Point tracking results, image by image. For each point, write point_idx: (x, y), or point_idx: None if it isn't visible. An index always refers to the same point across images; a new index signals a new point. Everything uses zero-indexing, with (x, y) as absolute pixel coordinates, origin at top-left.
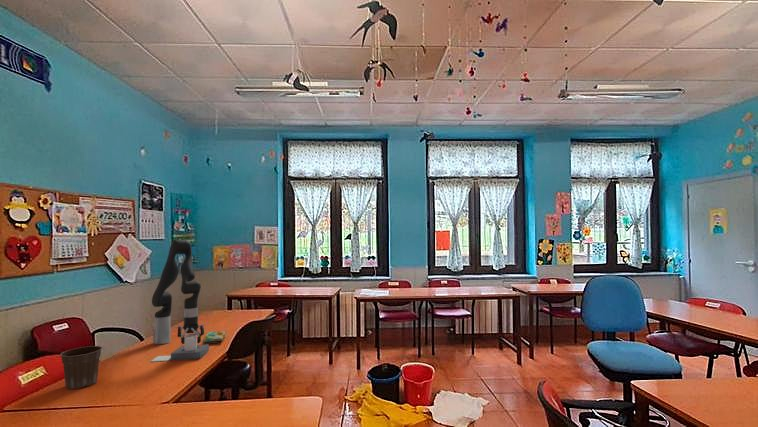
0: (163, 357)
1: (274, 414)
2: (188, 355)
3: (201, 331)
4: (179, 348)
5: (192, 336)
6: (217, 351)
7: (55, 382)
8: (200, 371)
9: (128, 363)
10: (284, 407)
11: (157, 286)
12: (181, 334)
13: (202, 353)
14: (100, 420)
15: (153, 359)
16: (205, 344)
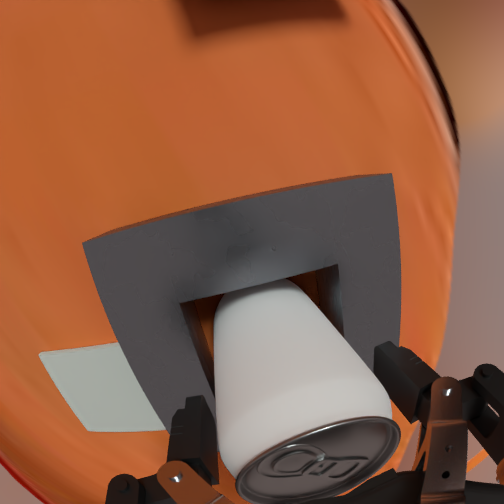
0: (95, 385)
1: (477, 462)
2: None
3: (490, 440)
4: (142, 352)
5: (363, 472)
6: (420, 193)
7: (38, 494)
8: (400, 454)
9: (22, 422)
10: None
11: None
12: (155, 502)
13: None
14: None
15: (75, 411)
16: (361, 178)
